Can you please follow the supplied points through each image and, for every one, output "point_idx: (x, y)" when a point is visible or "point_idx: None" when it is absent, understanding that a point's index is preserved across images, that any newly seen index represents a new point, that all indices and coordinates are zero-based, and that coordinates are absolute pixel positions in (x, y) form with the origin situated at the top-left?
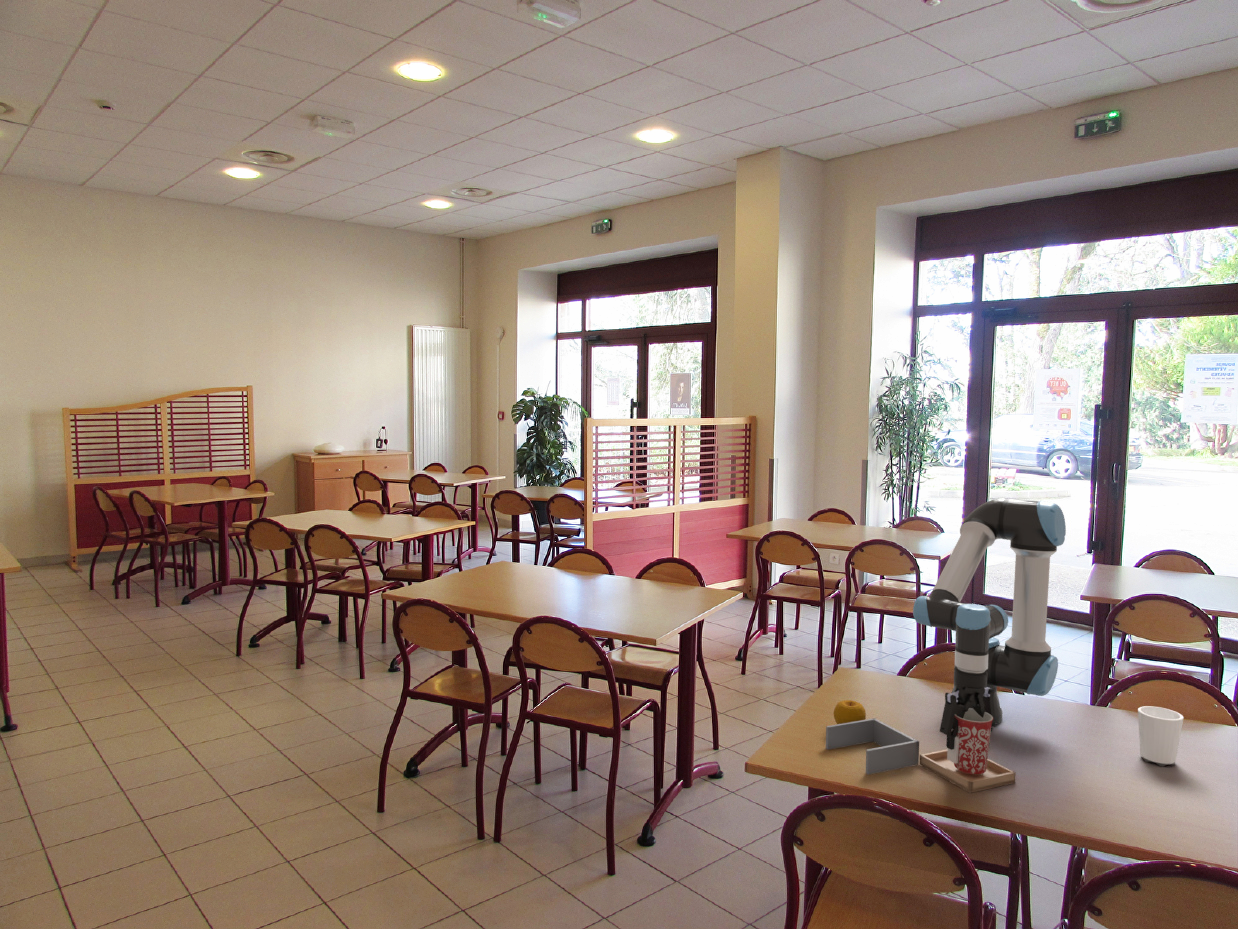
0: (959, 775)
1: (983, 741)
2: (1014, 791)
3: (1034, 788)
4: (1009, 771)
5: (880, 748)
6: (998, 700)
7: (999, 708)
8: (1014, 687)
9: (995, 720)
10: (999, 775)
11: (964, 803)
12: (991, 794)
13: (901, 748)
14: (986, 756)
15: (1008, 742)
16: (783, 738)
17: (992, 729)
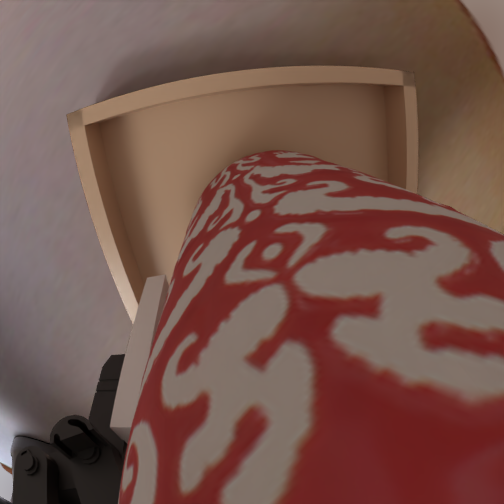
0: (411, 153)
1: (401, 199)
2: (159, 28)
3: (47, 57)
4: (86, 137)
5: None
6: (12, 473)
7: (13, 460)
8: None
9: (14, 496)
10: (189, 86)
11: (446, 34)
12: (301, 28)
13: None
14: (244, 178)
15: (9, 387)
16: None
17: (58, 435)
